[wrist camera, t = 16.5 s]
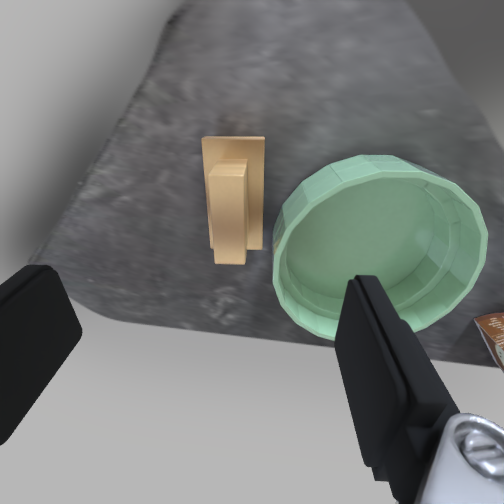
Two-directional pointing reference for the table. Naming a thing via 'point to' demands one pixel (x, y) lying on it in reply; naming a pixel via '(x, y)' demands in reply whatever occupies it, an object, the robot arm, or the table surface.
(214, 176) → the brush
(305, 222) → the bowl
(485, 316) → the food container
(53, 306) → the robot arm
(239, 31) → the table surface
